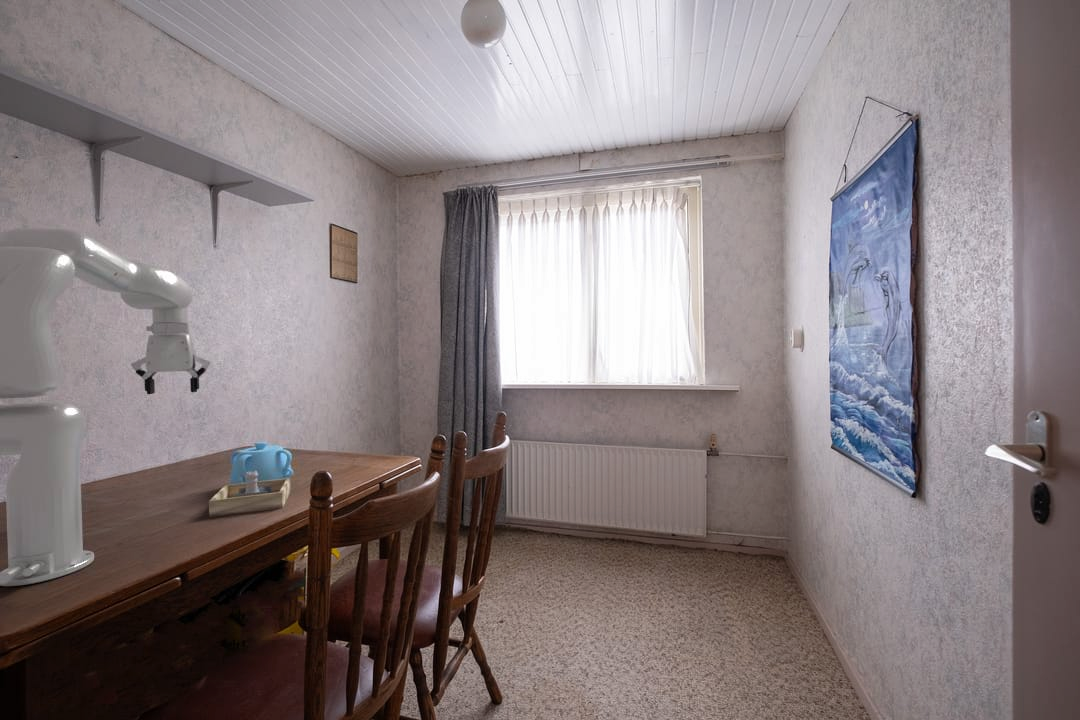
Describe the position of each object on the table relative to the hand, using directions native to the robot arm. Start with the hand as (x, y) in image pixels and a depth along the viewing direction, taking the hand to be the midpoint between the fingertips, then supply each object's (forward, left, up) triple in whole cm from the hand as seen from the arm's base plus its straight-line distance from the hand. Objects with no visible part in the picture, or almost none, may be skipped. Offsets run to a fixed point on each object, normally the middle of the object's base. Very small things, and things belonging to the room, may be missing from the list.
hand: (172, 392), depth 126 cm
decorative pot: (+9, -19, -31) cm, 37 cm away
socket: (-10, -20, -30) cm, 38 cm away
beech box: (-10, -20, -30) cm, 38 cm away
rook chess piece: (-10, -20, -30) cm, 37 cm away
